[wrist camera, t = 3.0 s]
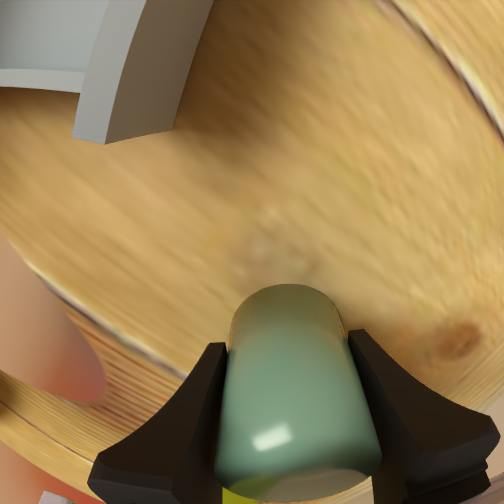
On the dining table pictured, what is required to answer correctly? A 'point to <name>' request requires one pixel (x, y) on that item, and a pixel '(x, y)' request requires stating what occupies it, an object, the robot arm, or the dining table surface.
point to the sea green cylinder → (292, 402)
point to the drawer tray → (105, 58)
